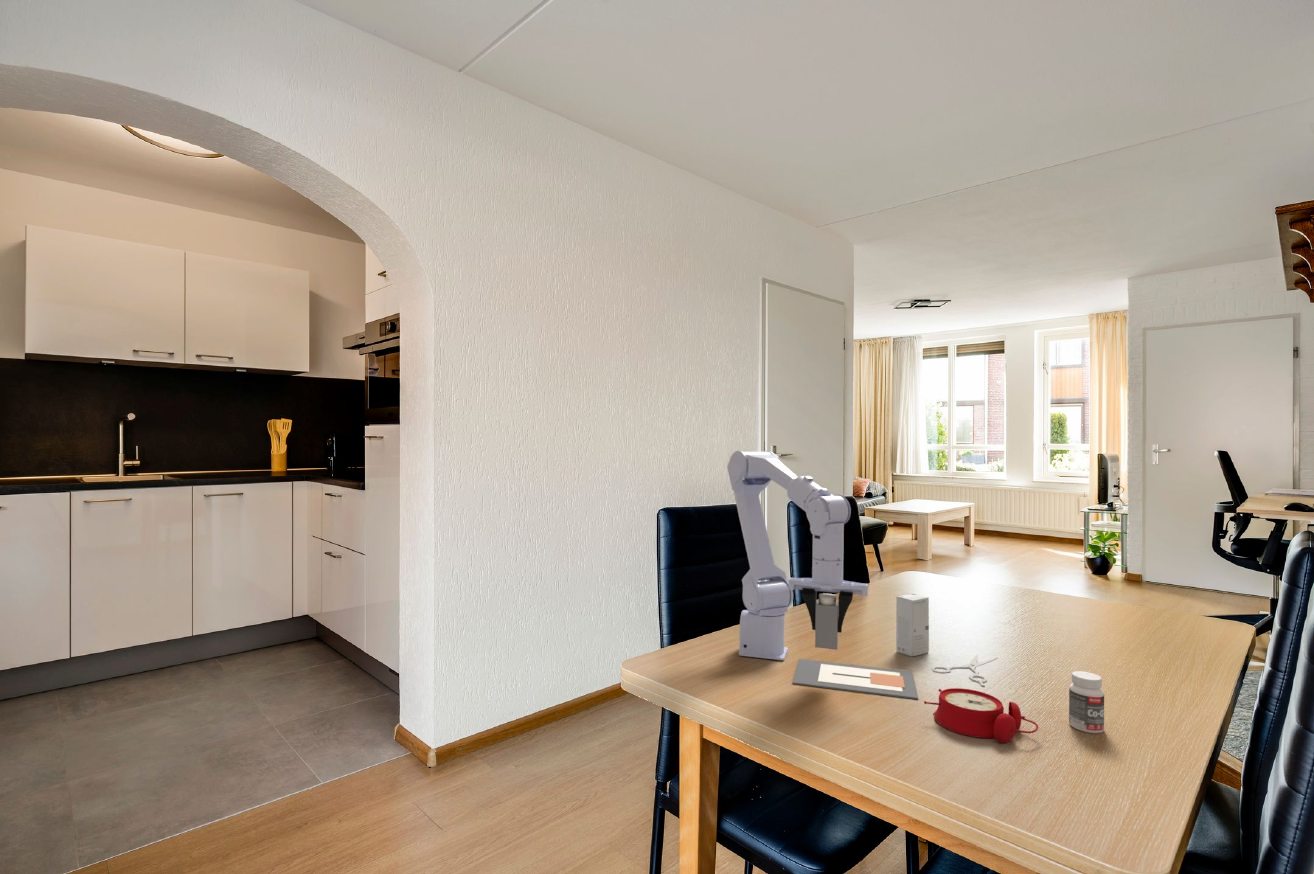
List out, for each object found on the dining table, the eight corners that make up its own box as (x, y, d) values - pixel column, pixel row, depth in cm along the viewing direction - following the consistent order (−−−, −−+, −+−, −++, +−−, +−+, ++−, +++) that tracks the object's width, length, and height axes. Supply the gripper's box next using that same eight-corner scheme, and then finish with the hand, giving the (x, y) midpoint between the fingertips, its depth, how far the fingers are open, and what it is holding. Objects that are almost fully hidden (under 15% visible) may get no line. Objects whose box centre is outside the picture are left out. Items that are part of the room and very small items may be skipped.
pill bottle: (1091, 736, 100) (1092, 682, 100) (1062, 723, 105) (1062, 672, 105) (1110, 730, 102) (1111, 678, 102) (1081, 719, 107) (1081, 668, 107)
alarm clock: (939, 682, 113) (1036, 684, 103) (947, 720, 112) (1046, 726, 102) (918, 700, 105) (1021, 704, 95) (926, 741, 104) (1032, 750, 94)
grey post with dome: (815, 647, 121) (815, 596, 121) (816, 641, 125) (817, 592, 125) (837, 649, 119) (837, 598, 120) (838, 643, 123) (838, 593, 123)
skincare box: (912, 657, 137) (913, 600, 137) (894, 651, 140) (895, 596, 141) (930, 652, 140) (930, 597, 140) (912, 646, 144) (912, 592, 144)
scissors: (927, 671, 128) (962, 648, 142) (926, 675, 128) (962, 651, 142) (984, 685, 120) (1015, 659, 135) (984, 689, 120) (1015, 663, 135)
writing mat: (792, 683, 121) (792, 681, 121) (799, 660, 134) (799, 657, 134) (918, 699, 114) (918, 696, 114) (912, 672, 127) (912, 670, 127)
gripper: (786, 559, 121) (785, 631, 121) (867, 564, 116) (866, 640, 116) (791, 553, 127) (790, 621, 127) (867, 558, 123) (866, 629, 123)
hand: (826, 629), depth 122 cm, fingers closed on grey post with dome, 4 cm apart
